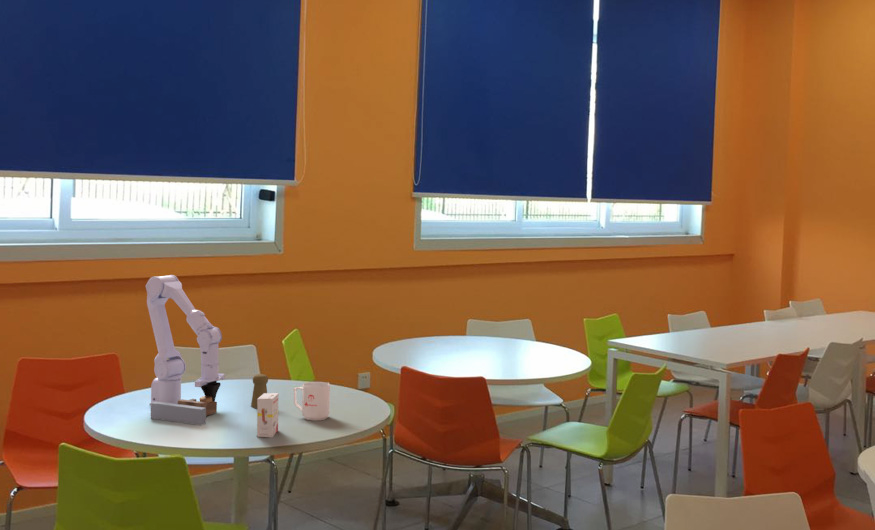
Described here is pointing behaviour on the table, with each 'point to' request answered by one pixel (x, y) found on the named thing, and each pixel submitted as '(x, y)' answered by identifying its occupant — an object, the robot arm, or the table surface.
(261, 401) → the ink box
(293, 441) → the table surface
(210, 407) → the walnut cradle
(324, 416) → the mug
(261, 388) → the cork
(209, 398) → the oak dowel
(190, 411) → the wall
